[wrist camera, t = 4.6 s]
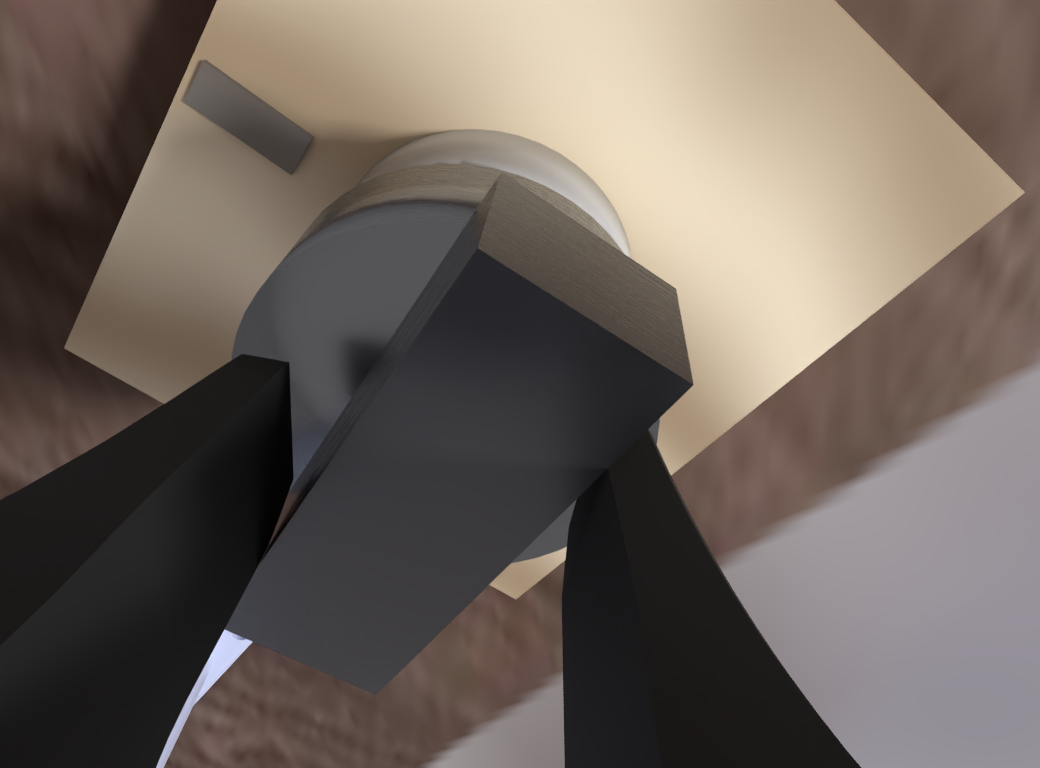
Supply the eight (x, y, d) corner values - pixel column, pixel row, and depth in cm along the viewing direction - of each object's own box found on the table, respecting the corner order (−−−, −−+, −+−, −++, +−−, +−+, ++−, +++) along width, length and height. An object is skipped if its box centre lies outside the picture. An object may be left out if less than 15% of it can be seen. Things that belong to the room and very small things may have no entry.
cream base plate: (522, 541, 21) (507, 667, 18) (114, 302, 17) (1, 404, 14) (974, 153, 14) (1091, 244, 10) (437, -386, 10) (361, -501, 7)
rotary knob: (756, 286, 11) (822, 466, 8) (472, 574, 15) (438, 767, 12) (402, 39, 9) (298, 135, 6) (197, 437, 14) (71, 617, 10)
